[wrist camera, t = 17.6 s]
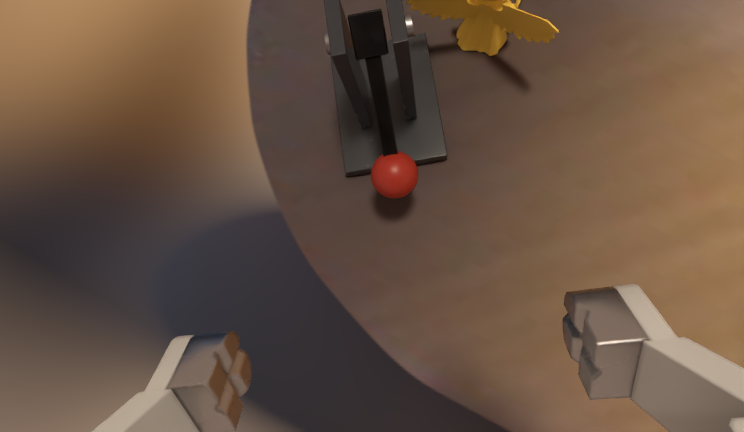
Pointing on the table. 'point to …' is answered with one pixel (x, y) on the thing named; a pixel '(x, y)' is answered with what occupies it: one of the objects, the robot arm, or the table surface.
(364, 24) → the switch lever
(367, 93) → the switch bracket
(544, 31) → the figurine
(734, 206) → the table surface
